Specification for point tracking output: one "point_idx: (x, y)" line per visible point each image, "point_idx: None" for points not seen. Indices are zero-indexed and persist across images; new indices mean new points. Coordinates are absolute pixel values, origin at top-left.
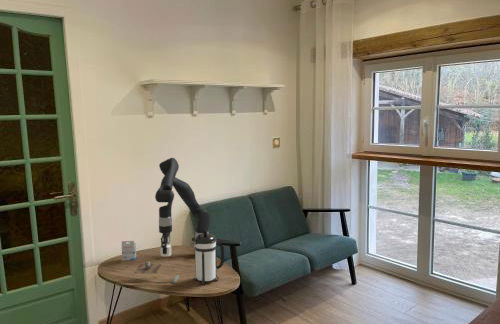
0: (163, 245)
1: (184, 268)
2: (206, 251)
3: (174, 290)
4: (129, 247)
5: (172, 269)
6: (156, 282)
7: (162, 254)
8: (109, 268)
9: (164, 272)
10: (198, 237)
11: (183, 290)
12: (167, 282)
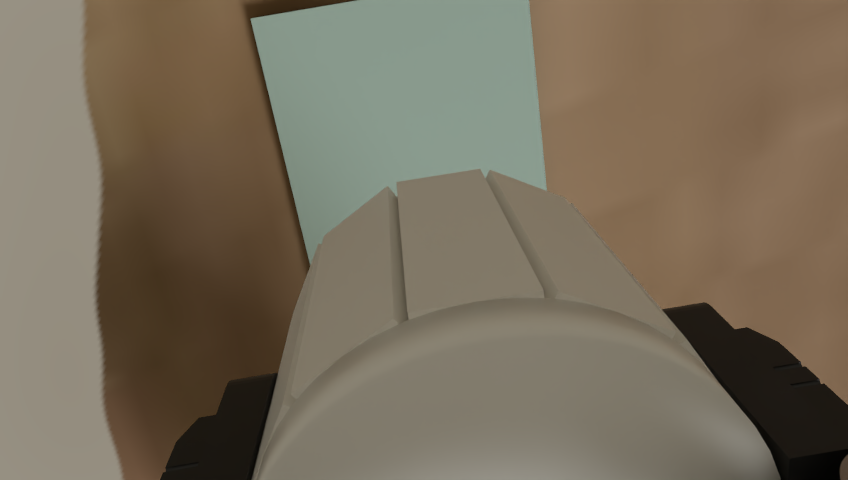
0: (548, 459)
1: (815, 250)
2: None
3: (115, 365)
4: None
5: (789, 88)
6: (258, 41)
7: (297, 311)
8: None
9: (671, 2)
10: None
11: (148, 456)
12: (297, 205)
